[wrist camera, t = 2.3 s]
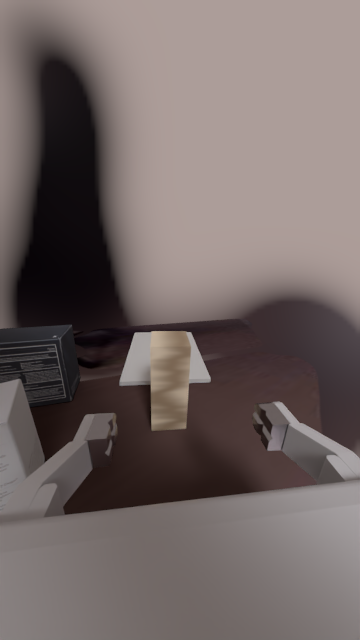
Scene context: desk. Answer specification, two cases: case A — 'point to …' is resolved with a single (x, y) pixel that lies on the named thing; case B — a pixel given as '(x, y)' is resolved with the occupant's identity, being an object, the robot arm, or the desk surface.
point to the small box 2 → (16, 440)
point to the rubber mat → (140, 368)
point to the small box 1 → (40, 362)
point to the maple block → (169, 379)
